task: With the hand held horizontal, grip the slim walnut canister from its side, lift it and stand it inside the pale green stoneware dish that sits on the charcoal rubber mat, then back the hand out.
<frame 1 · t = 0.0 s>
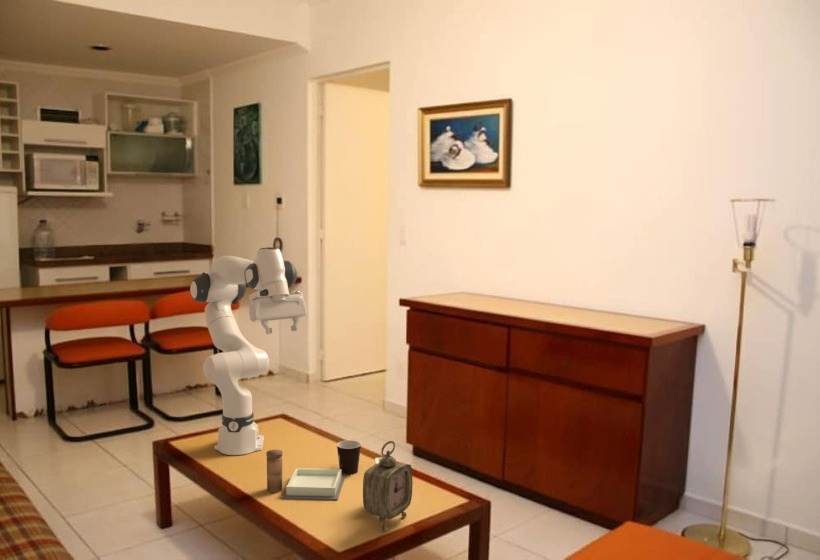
hand: (282, 332, 228), 52 cm above the table, tool tilted 20°, fingers open, 8 cm apart
coffee mug: (350, 470, 244), on the table
syrup box: (383, 504, 215), on the table
dish: (314, 481, 228), on the mat, point 1 cm above the table
mat: (314, 487, 228), on the table
tabletop clock: (386, 522, 203), on the table
canister: (274, 489, 225), on the table
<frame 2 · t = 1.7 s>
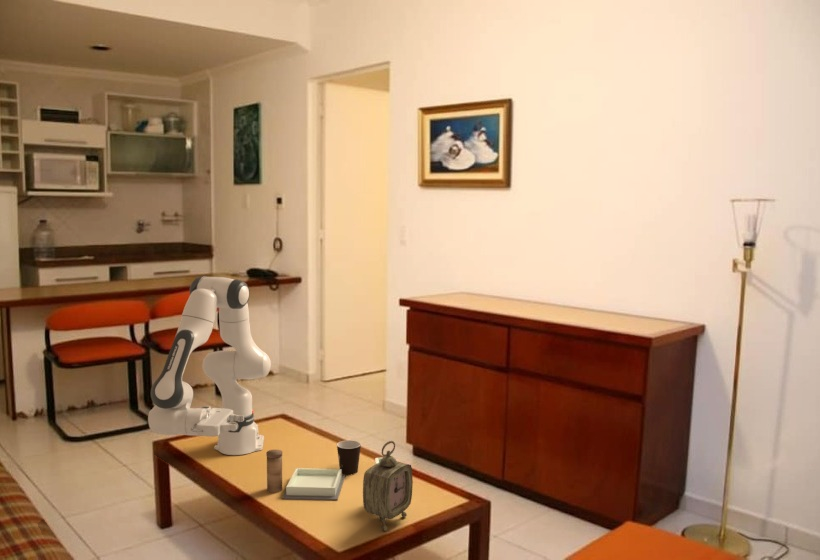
hand: (240, 422, 224), 23 cm above the table, tool horizontal, fingers open, 8 cm apart
nothing on the table moved.
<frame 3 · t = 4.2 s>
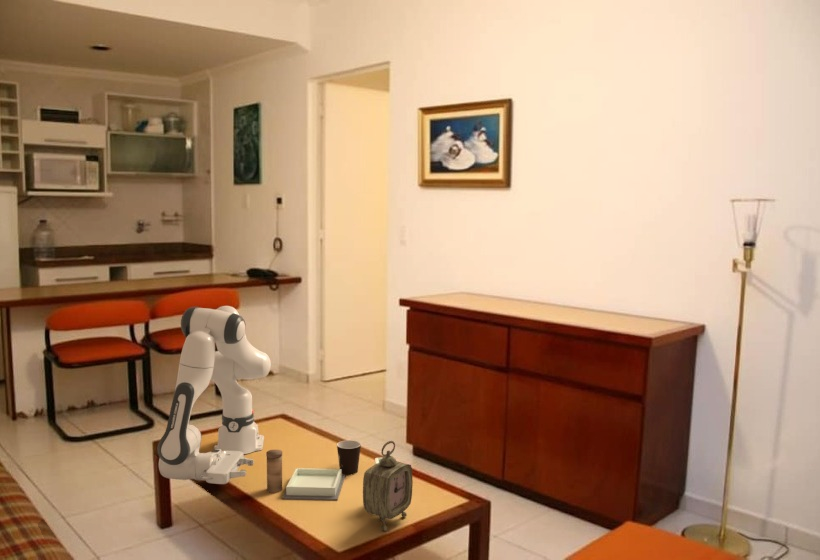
hand: (249, 467, 225), 7 cm above the table, tool horizontal, fingers open, 8 cm apart
nothing on the table moved.
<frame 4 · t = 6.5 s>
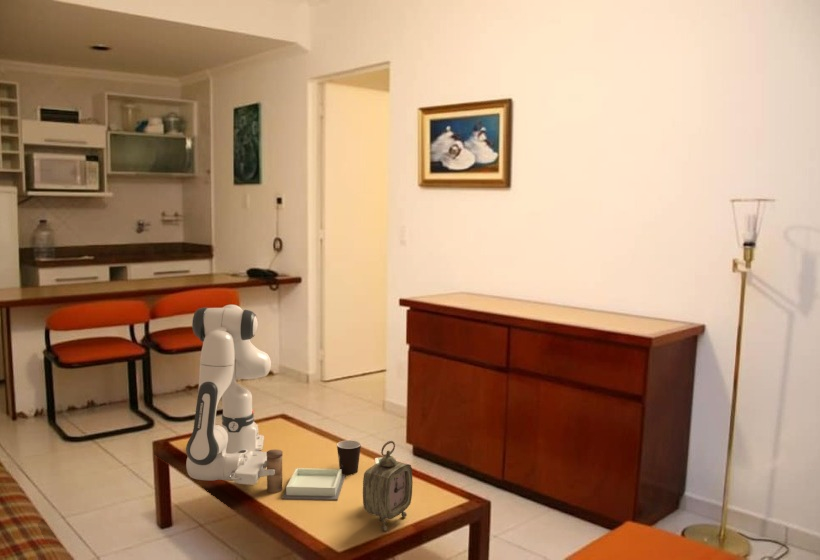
hand: (277, 468, 225), 8 cm above the table, tool horizontal, fingers closed on canister, 5 cm apart
canister: (274, 489, 225), on the table, touching gripper
everything else where it was.
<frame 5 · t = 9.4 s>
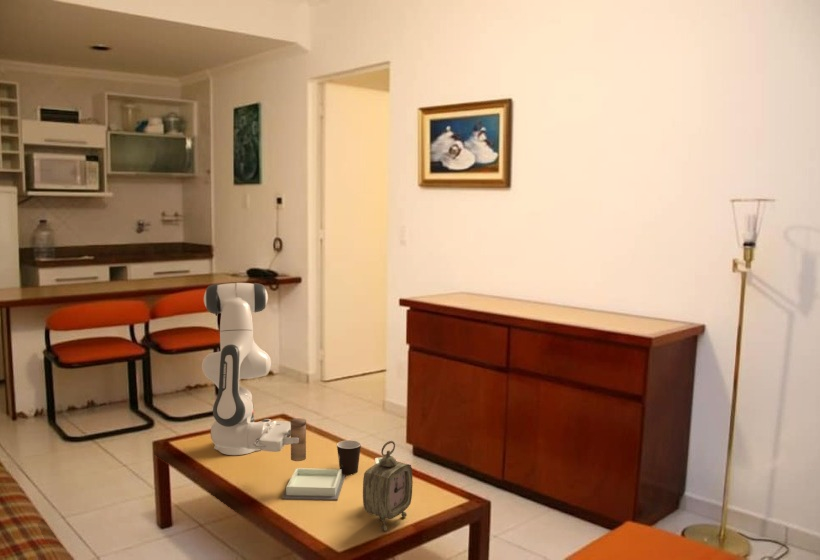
hand: (301, 436, 225), 18 cm above the table, tool horizontal, fingers closed on canister, 5 cm apart
canister: (298, 458, 226), point 10 cm above the table, touching gripper
everything else where it was.
when the fingers open (10 cm above the table, at t = 12.3 s): canister drops 1 cm, resting on dish.
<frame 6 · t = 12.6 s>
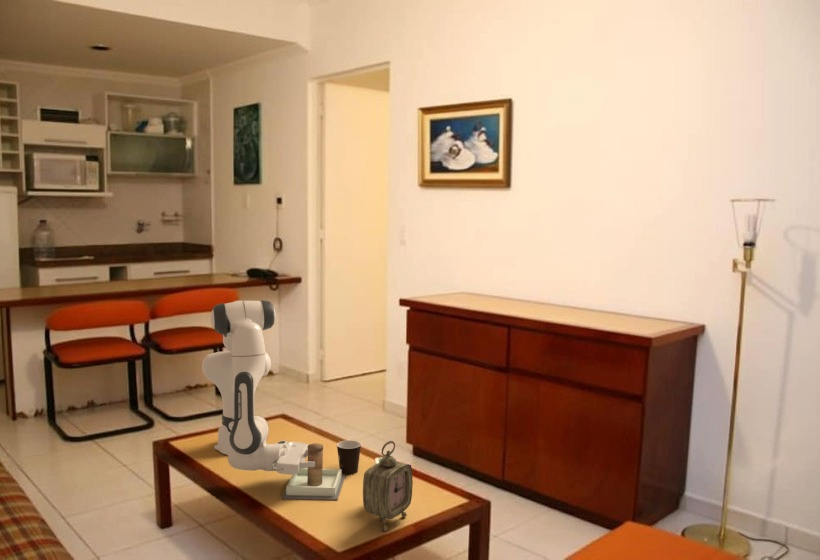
hand: (317, 458, 227), 10 cm above the table, tool horizontal, fingers open, 8 cm apart
canister: (314, 483, 228), point 1 cm above the table, touching dish
everything else where it was.
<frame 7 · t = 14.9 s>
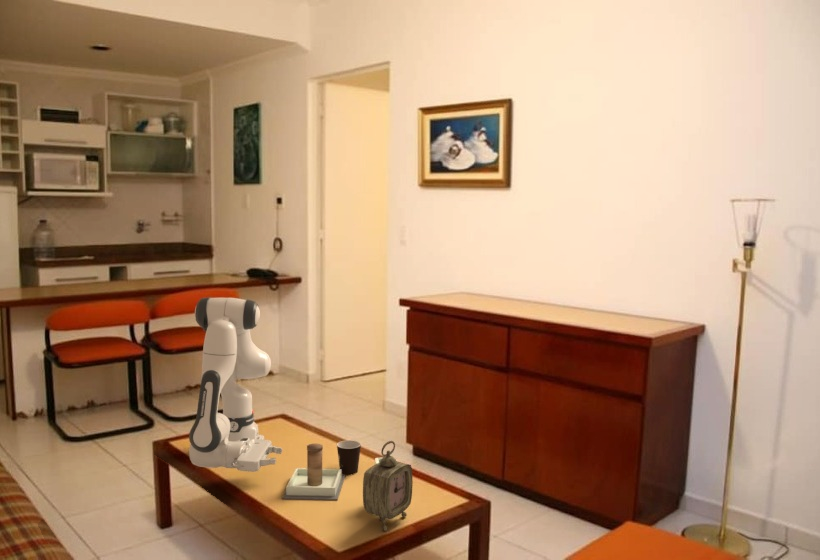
hand: (278, 455, 228), 11 cm above the table, tool horizontal, fingers open, 8 cm apart
nothing on the table moved.
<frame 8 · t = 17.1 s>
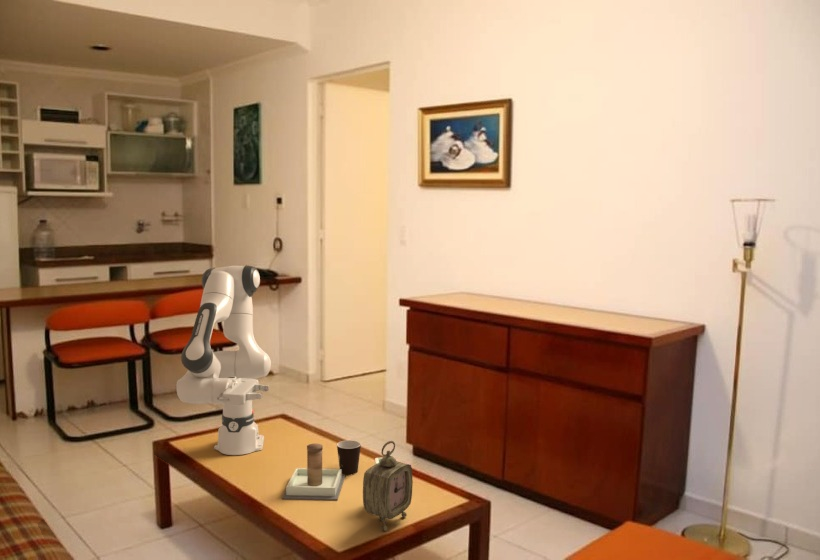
hand: (265, 392, 227), 32 cm above the table, tool horizontal, fingers open, 8 cm apart
nothing on the table moved.
at the end: canister inside the target area on the dish (0.0 cm from its centre), point 1.3 cm above the dish's base; canister tilted 0°; the gripper is holding nothing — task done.
